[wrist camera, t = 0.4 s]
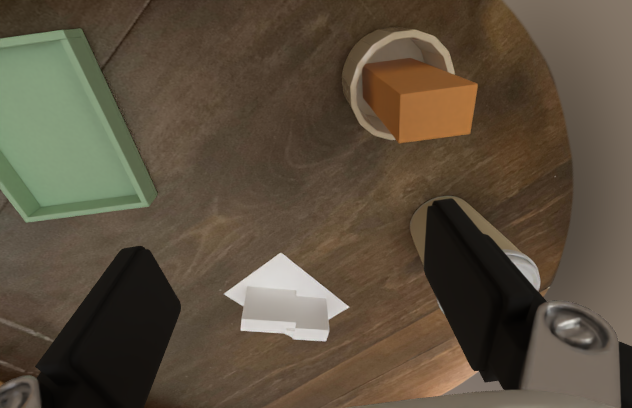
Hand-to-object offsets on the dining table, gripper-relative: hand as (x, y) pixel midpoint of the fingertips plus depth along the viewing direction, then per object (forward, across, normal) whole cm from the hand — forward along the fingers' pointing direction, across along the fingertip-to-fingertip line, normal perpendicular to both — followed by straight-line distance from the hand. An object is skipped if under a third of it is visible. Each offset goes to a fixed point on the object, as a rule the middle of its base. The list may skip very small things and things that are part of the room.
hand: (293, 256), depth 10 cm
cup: (+22, -9, 0) cm, 24 cm away
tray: (+22, +23, 0) cm, 32 cm away
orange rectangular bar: (+22, -9, 0) cm, 24 cm away
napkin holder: (+23, +6, +28) cm, 37 cm away
